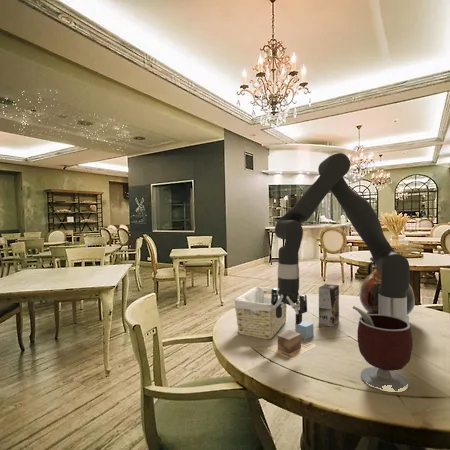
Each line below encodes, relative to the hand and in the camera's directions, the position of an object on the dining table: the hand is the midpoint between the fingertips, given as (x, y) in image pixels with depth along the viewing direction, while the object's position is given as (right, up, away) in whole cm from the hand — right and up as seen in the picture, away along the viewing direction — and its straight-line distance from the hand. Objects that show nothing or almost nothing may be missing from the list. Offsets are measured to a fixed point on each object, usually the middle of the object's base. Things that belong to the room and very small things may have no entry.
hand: (288, 320), depth 107 cm
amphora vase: (+49, -8, +25) cm, 56 cm away
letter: (+1, -10, +1) cm, 10 cm away
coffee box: (+23, -9, +25) cm, 35 cm away
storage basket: (-7, -10, +20) cm, 23 cm away
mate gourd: (+22, -11, -21) cm, 32 cm away
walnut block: (0, -10, 0) cm, 10 cm away
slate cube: (+9, -10, +11) cm, 17 cm away
